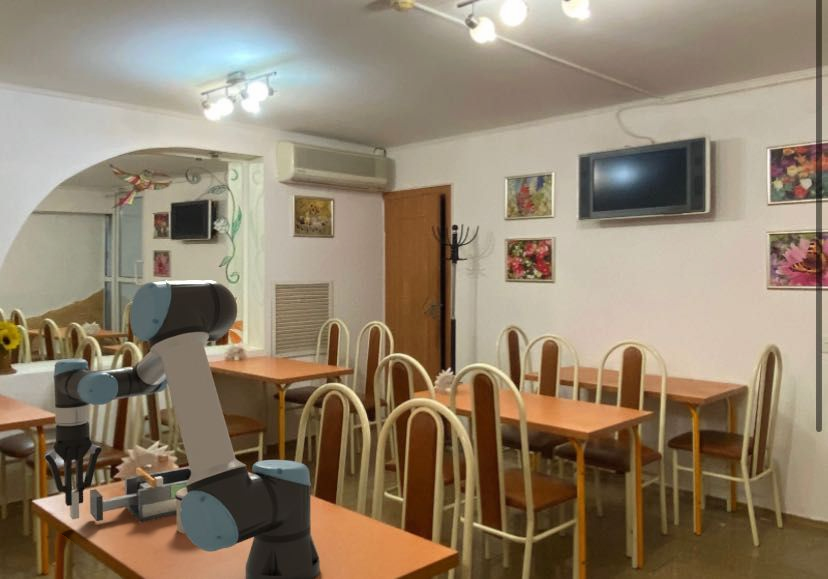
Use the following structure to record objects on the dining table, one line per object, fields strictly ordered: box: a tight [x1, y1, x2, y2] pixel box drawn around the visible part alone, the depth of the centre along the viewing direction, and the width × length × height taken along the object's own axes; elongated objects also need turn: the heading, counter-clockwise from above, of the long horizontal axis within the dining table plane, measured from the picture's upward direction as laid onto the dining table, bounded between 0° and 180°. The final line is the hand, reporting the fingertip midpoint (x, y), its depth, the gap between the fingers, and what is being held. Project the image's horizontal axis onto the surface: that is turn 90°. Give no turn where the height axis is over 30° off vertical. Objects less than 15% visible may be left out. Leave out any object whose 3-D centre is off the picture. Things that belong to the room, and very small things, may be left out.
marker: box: [154, 476, 163, 487], centre depth 176 cm, size 2×2×2 cm
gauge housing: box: [124, 465, 191, 523], centre depth 183 cm, size 14×18×8 cm
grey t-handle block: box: [89, 467, 155, 522], centre depth 177 cm, size 14×16×9 cm
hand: (74, 517), depth 170 cm, fingers closed
